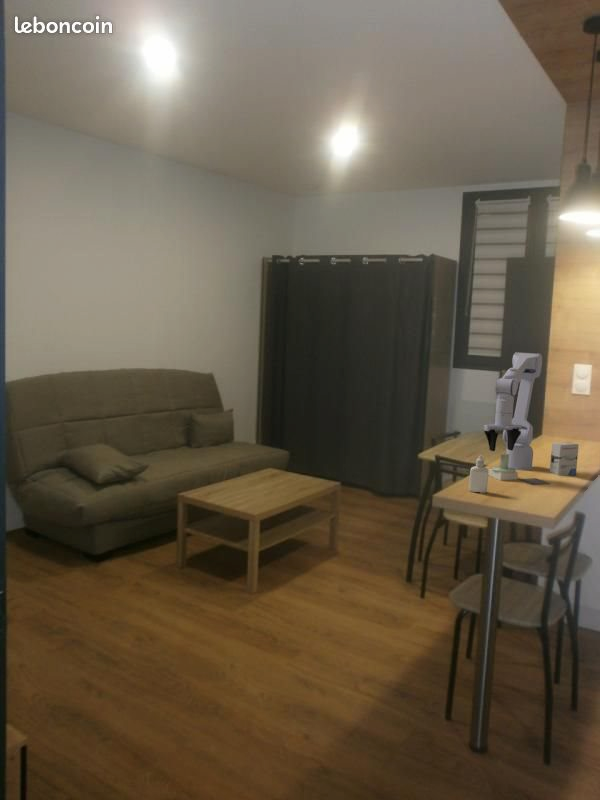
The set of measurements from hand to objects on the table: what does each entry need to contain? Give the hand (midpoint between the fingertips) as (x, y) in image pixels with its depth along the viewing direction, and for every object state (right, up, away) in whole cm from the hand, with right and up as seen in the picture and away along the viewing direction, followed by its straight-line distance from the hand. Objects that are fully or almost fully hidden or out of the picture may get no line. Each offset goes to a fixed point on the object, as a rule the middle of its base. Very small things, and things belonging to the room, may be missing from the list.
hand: (501, 450), depth 235 cm
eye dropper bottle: (-14, -12, -20) cm, 27 cm away
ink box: (+26, -10, +10) cm, 29 cm away
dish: (0, -10, -1) cm, 10 cm away
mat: (+10, -11, -5) cm, 16 cm away
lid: (0, -7, -1) cm, 7 cm away
